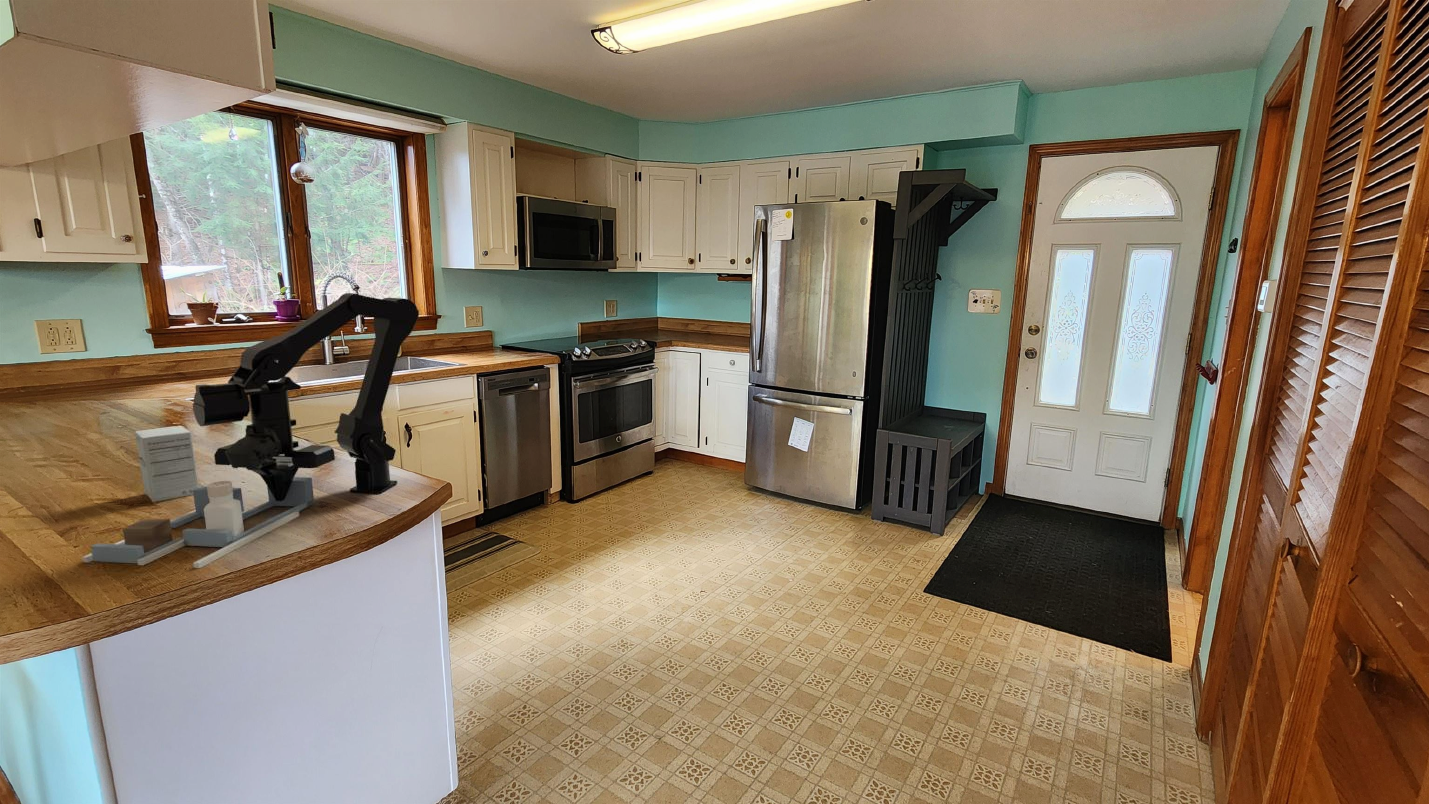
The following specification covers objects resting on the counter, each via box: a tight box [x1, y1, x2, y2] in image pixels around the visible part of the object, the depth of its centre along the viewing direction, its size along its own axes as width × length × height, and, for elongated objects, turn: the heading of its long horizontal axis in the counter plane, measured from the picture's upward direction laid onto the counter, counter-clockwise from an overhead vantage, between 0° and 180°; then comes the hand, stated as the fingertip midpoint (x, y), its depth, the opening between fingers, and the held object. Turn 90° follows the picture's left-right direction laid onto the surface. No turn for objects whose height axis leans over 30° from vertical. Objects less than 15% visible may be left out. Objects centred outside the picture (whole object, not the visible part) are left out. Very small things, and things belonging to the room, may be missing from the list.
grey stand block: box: [181, 476, 315, 548], centre depth 111 cm, size 20×7×5 cm, turn 176°
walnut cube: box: [122, 518, 174, 553], centre depth 101 cm, size 4×4×4 cm
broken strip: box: [90, 485, 245, 564], centre depth 105 cm, size 20×7×5 cm, turn 176°
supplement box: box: [134, 425, 199, 503], centre depth 124 cm, size 7×7×13 cm
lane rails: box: [81, 508, 300, 569], centre depth 105 cm, size 21×18×1 cm
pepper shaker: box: [204, 480, 245, 538], centre depth 104 cm, size 4×4×10 cm
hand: (280, 500), depth 117 cm, fingers closed, pressing on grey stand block
